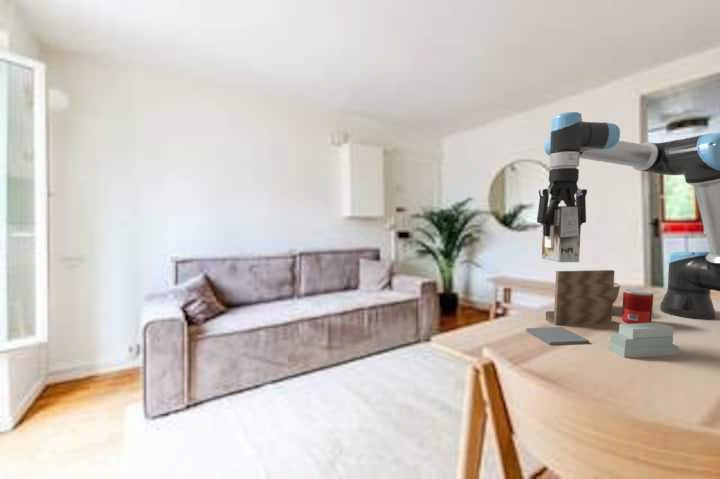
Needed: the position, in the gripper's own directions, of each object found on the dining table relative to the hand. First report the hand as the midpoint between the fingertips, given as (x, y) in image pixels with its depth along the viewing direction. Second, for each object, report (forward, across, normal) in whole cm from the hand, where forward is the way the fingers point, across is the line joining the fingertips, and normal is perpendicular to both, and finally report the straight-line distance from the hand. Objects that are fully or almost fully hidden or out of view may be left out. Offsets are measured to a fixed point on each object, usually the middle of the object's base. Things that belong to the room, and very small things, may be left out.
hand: (560, 247), depth 106 cm
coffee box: (+4, 0, 0) cm, 4 cm away
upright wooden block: (+27, +17, +13) cm, 35 cm away
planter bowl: (+27, +33, +26) cm, 50 cm away
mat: (+27, 0, 0) cm, 27 cm away
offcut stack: (+27, +16, -13) cm, 34 cm away
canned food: (+27, +36, +10) cm, 46 cm away
